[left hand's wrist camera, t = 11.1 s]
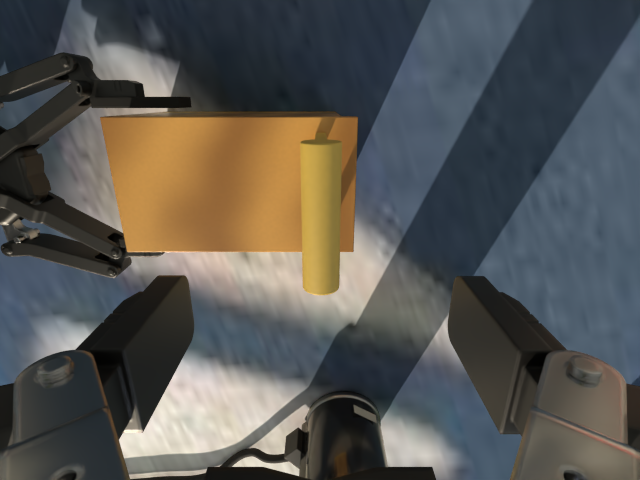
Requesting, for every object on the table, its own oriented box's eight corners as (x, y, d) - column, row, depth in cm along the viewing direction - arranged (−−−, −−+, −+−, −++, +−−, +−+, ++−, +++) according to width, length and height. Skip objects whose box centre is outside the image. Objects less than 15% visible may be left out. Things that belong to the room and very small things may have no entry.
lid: (356, 116, 25) (375, 124, 17) (352, 246, 29) (366, 309, 20) (109, 116, 25) (0, 124, 17) (134, 246, 29) (54, 309, 20)
